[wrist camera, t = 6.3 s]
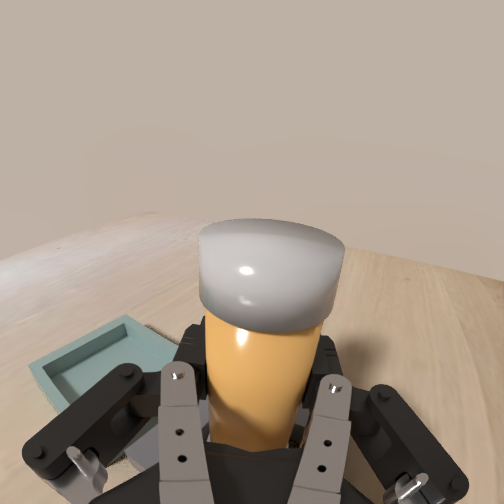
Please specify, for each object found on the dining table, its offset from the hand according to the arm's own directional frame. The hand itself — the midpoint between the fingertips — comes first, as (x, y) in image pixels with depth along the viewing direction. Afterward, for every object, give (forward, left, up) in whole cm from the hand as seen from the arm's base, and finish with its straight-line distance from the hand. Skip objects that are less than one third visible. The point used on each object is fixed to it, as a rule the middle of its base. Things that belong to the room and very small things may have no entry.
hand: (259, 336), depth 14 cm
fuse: (+2, +1, -8) cm, 8 cm away
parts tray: (+3, -10, -8) cm, 13 cm away
